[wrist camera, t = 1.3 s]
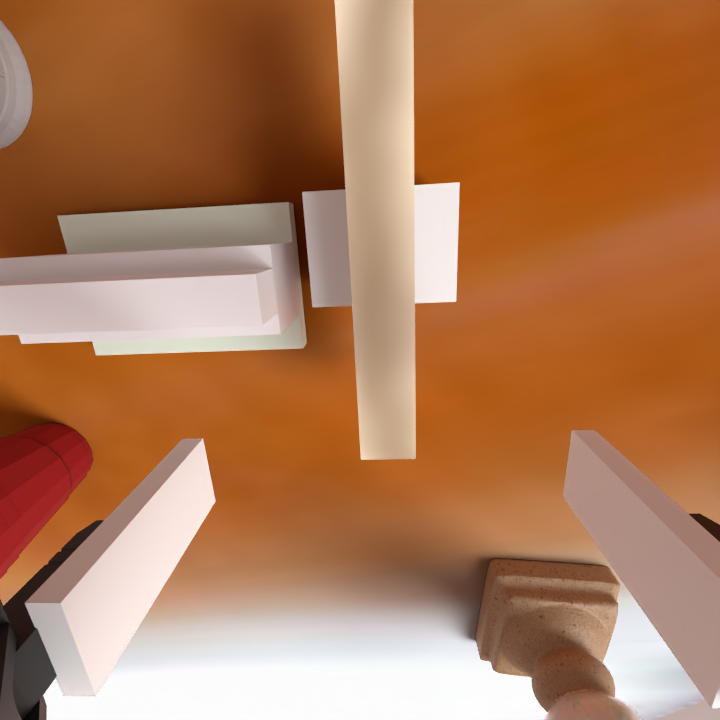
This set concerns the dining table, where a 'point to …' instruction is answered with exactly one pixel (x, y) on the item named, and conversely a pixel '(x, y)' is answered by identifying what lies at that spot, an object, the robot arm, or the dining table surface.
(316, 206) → the rest block
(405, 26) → the birch batten
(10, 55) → the glass holder
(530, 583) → the candle holder
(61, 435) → the plastic cup
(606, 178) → the dining table surface
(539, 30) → the dining table surface
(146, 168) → the dining table surface
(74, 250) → the ridge stand
